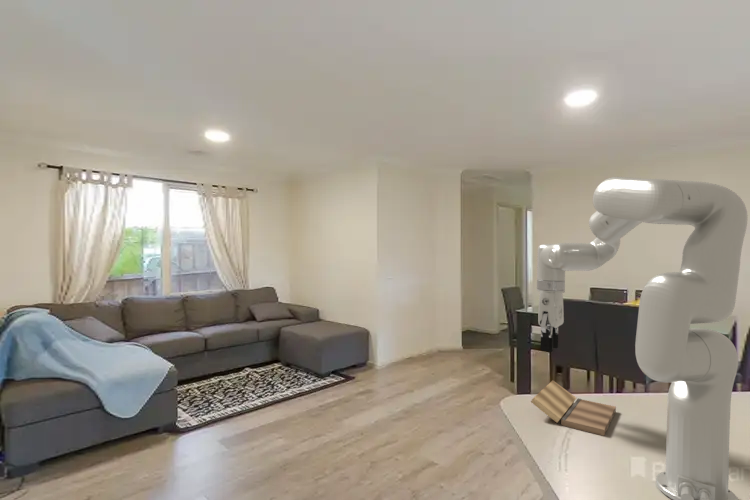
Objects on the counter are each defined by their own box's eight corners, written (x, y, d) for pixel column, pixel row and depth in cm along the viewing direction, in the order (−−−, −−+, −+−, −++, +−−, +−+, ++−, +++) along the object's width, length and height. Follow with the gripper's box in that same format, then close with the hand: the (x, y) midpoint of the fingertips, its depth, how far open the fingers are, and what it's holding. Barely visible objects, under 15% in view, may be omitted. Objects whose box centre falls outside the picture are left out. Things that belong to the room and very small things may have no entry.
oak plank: (557, 423, 112) (560, 418, 111) (530, 401, 116) (533, 397, 115) (573, 401, 128) (576, 398, 127) (550, 383, 132) (552, 380, 131)
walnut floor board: (604, 435, 105) (604, 429, 105) (561, 425, 111) (561, 419, 111) (615, 411, 121) (615, 406, 121) (577, 403, 127) (577, 398, 127)
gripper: (556, 289, 113) (555, 357, 113) (571, 285, 127) (570, 346, 127) (528, 287, 118) (527, 352, 118) (545, 284, 131) (544, 342, 131)
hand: (549, 348), depth 122 cm, fingers open, 5 cm apart
